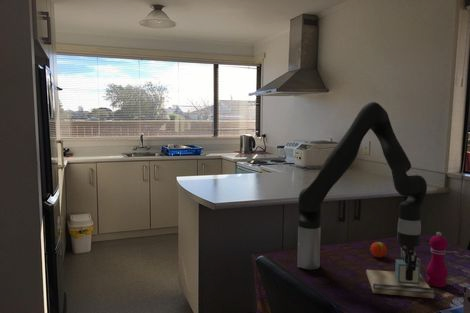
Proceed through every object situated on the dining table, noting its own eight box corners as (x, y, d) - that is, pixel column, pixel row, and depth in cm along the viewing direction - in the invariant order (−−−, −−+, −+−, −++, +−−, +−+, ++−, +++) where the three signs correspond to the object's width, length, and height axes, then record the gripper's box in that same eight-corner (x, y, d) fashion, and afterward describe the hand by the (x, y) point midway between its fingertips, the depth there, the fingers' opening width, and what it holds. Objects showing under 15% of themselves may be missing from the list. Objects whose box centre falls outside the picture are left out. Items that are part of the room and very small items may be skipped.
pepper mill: (446, 289, 138) (449, 235, 136) (424, 285, 142) (427, 232, 140) (447, 282, 144) (450, 231, 143) (426, 278, 148) (429, 228, 146)
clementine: (389, 260, 167) (390, 245, 166) (374, 260, 167) (374, 244, 167) (383, 254, 175) (383, 239, 174) (368, 254, 175) (368, 239, 175)
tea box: (395, 277, 140) (395, 259, 139) (415, 279, 139) (416, 260, 138) (398, 283, 135) (398, 264, 135) (419, 284, 134) (420, 265, 133)
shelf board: (373, 293, 135) (373, 284, 135) (366, 273, 153) (366, 265, 152) (434, 298, 131) (434, 289, 131) (419, 277, 149) (420, 269, 148)
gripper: (426, 237, 128) (423, 286, 129) (414, 226, 142) (412, 270, 143) (402, 236, 129) (400, 284, 131) (393, 225, 143) (391, 268, 145)
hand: (407, 276), depth 137 cm, fingers closed on tea box, 5 cm apart
